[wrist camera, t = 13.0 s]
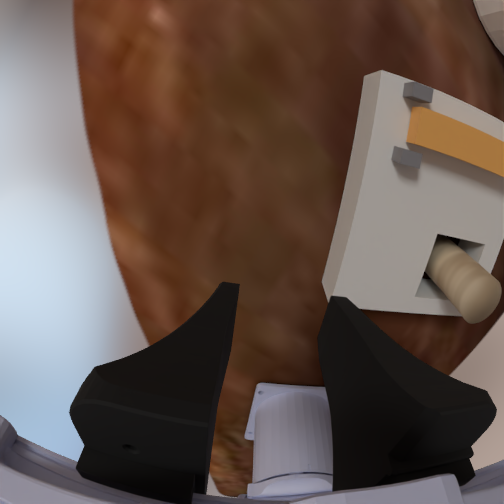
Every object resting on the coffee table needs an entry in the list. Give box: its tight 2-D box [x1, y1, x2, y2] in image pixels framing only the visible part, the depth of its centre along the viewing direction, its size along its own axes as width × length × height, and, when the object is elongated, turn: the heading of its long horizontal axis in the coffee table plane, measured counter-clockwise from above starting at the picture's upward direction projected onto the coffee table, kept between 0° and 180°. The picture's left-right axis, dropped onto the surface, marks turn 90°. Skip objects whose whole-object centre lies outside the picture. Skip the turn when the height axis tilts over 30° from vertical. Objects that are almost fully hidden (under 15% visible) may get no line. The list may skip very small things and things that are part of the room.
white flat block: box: [322, 70, 504, 316], centre depth 17 cm, size 14×12×4 cm
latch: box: [406, 107, 504, 177], centre depth 14 cm, size 2×8×1 cm, turn 82°
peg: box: [425, 234, 501, 323], centre depth 17 cm, size 3×3×7 cm
